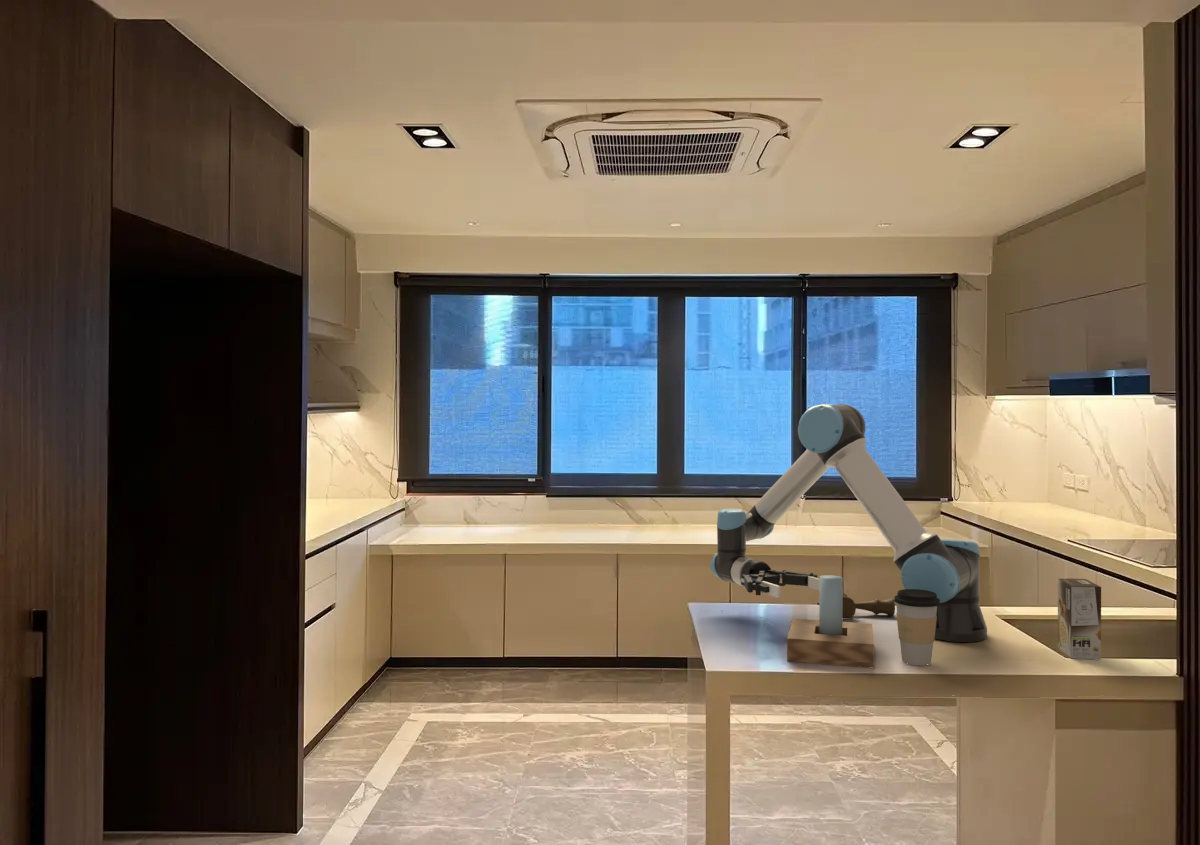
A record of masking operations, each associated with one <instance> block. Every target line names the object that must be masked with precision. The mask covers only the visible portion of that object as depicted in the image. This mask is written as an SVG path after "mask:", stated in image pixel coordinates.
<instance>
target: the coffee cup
mask: <svg viewBox="0 0 1200 845" xmlns="http://www.w3.org/2000/svg"><path fill="white" fill-rule="evenodd" d="M896 594H897V595H895V596H894V598H893V600H894V603H895V609H896V612H895V613H896V622H897V623H896V624H897V634H898V638H899V645H900V654H901V655H900V656H901V661H902V662H903V663H904V662H905V664H907V663H908V665H910V664H912V665H911V666H916V665H925V666H928V665H927V664H929V665H931V664H932V659H933V658H932V657H933V648H934V642H935V629H936V620H937V616H936V613H937V606H938V605H940V600H939V599H938V598H937V595H936V593H934V592H931V591H927V590H919V589H905V588H904V589H899V590H898V591H897V593H896ZM930 663H931V664H930Z"/></svg>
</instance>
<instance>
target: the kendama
mask: <svg viewBox="0 0 1200 845" xmlns="http://www.w3.org/2000/svg"><path fill="white" fill-rule="evenodd" d="M816 605H817V606H819V602H817V603H816ZM856 610H862V611H867V612H871V613H873V614H874V615H880V614H883V615H888V617H891V616H893V617H894V616H895V613H896V602H894V598H893V597H888V598H887V599H878V598H877V597H876V598H874V599H872V600H868V601H867V600H866V601H859V602H858V601H857V602H855V601H854V599H853V598H851V597H848V595H847V594H846V593H844V592H843V610H842V618H850V619H851V618H853V617H854V615H855V614H856Z"/></svg>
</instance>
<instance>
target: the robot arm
mask: <svg viewBox="0 0 1200 845" xmlns="http://www.w3.org/2000/svg"><path fill="white" fill-rule="evenodd" d="M797 435H798V438H799V441H800V443H801V444H802V445H803V447H804V448H805V449H806V450H805V451H804V452H803V453H802V454H801V455H800V456H799V457H798V458H797V460H795V461H794V462H793V464H792V465H791V466H790V467H789V468H788V469H787V470H786V471H785V472H784V473H783V474H782V475H781V477H780V478H778V479H777V480H776V481H775V483H774V484H773V485H772V486H771V487H770V488H769V489H768V490H767V491H766V492H765V493H764V494H763V496H761V498H759V500H758V501H757V502H756V503H755V504H754V506H752V507H751V509H749V510H748V511H747V512H745V510H744V509H740V508H723V509H719V510H718V512H717V518H716V521H717V522H716V532H717V533H716V534H717V536H716V537H717V538H716V540H717V542H716V543H717V552H716V553H715V554H714V555H712V558H711V560H710V570H711V572H712V574H713V575H714V576H715V577H717V578H718V579H720V580H722V581H724V582H728V583H731V584H735V585H738V586H741V587H743V589H745V590H746V592H747V593H754V591H755V596H761V595H762V594H765V595H768V596H770V597H773V598H776V599H780V598H781V597H782V596H781V587H786V585H789V586H790V585H791V586H802V587H807V588H809V589H812V590H816V591H819V592H820V577H819V578H818V574H815V573H814V572H810V573H804V572H798V571H797V572H796V571H789V570H786V569H783V570H782V571H777V570H775V569H772V568H771V567H770V565H769V564H768V563H766V562H764V561H761V560H757V559H754V558H750V557H747V556H746V553H747V551H746V550H747V547H746V546H747V544H746V543H747V542H750V541H754V540H759V539H760V540H761V539H763V538H765V537H767V536H769V535H770V534H771V533H772V532H773V530H774V527H775V524H776V523H777V522H778V521H779V520H780V519H781V518H782V517H783V516H784V515H785V514H786V513H787V512H788V511H789V510H790V509H791V508H792V507H793V506H794V505H795V504H796V503H797V502H798V501H799V500H800V498H802V496H803V495H805V494H806V493H807V491H809V489H811V487H812V486H813V485H814V484H815V483H816V482H817V481H819V479H820V478H821V477H822V476H823V475H824V474H825V473H826V472H827V471H828V470H829V469H830V468H831V469H832V468H833V469H835V470H836V471H837V473H838V474H839V476H840V477H841V478H842V480H843V481H844V483H845V484H846V485H847V487H848V488H849V490H850V491H851V492H852V493H853V495H854V497H855V498H856V499H857V501H858V502H859V504H860V505H861V507H862V508H863V509H864V511H865V512H866V513H867V515H868V516H869V517H870V519H871V520H872V521H873V522H872V523H874V524H875V526H876V527H877V528H878V530H879V532H880V533H881V535H882V536H883V537H884V538H885V540H886V542H887V543H888V544H889V546H890V547H891V549H892V550H893V551H894V556H893V563H894V564H895V565H896V567H897V568H898V570H899V571H900V580H901V581H900V582H901V584H902V586H903V588H904V589H919V590H927V591H931V592H934V593H936V595H937V598H938V599H939V600H940V605H938V606H937V613H936V616H937V620H936V629H935V638H934V640H938V641H939V640H940V641H946V642H955V643H956V642H957V643H974V642H975V643H977V642H980V641H984V640H986V639H987V638H988V627H987V624H986V620H985V618H984V615H983V612H982V609H981V605H980V558H981V554H980V546H979V544H978V543H977V542H974V541H971V540H970V541H969V540H962V539H961V540H960V539H949V538H940V536H939V535H938V534H937V533H934V532H930V531H928V530H926V528H925V527H924V526H923V525H922V524H921V522H920V521H919V520H918V518H917V517H916V515H915V514H914V513H913V511H912V510H911V508H909V506H908V504H907V503H906V502H905V501H904V499H903V497H902V496H901V495H900V493H899V492H898V491H897V490H896V488H895V487H894V485H893V483H891V481H890V480H889V479H888V478H887V476H886V475H885V473H884V472H883V471H882V470H881V468H880V466H878V464H877V462H876V461H875V460H874V459H873V457H872V456H871V454H870V453H869V452H868V450H867V449H866V445H867V438H866V437H865V435H866V422H865V419H864V416H863V415H862V413H861V412H860V411H859V410H858V409H857V408H856V407H854V406H852V405H849V404H843V403H842V404H841V403H840V404H839V403H838V404H830V403H821V404H818V405H817V404H816V405H814V406H811V407H809V408H807V410H805V412H804V413H803V414H802V415H801V417H800V419H799V421H798V426H797ZM761 593H762V594H761Z"/></svg>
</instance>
